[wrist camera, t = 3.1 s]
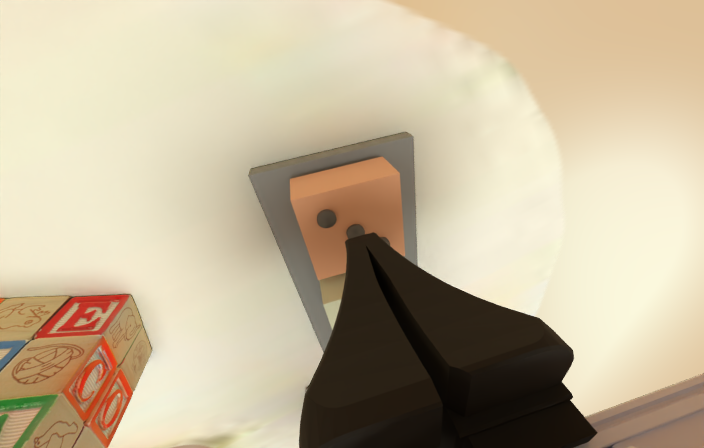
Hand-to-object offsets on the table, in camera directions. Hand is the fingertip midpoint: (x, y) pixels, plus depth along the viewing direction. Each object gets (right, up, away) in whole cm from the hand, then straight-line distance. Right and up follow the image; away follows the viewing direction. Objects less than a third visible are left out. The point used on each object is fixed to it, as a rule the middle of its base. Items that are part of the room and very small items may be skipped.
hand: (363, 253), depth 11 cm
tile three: (-1, +2, +3) cm, 4 cm away
